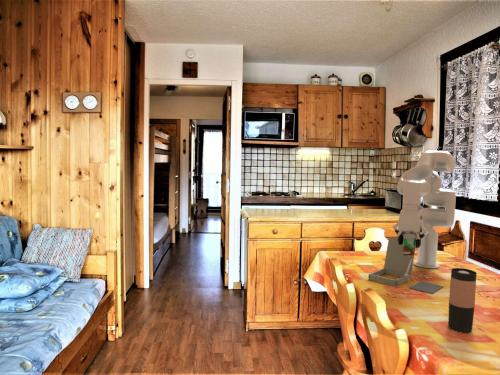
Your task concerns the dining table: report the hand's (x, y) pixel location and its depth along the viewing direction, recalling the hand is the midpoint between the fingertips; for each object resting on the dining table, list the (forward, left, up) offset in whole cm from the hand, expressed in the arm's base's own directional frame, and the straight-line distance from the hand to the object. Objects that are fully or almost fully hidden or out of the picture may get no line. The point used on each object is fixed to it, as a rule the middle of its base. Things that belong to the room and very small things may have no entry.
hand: (409, 245), depth 182 cm
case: (-2, -8, -18) cm, 20 cm away
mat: (0, +9, -18) cm, 20 cm away
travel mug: (+37, +33, -18) cm, 53 cm away
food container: (0, +1, -4) cm, 4 cm away
